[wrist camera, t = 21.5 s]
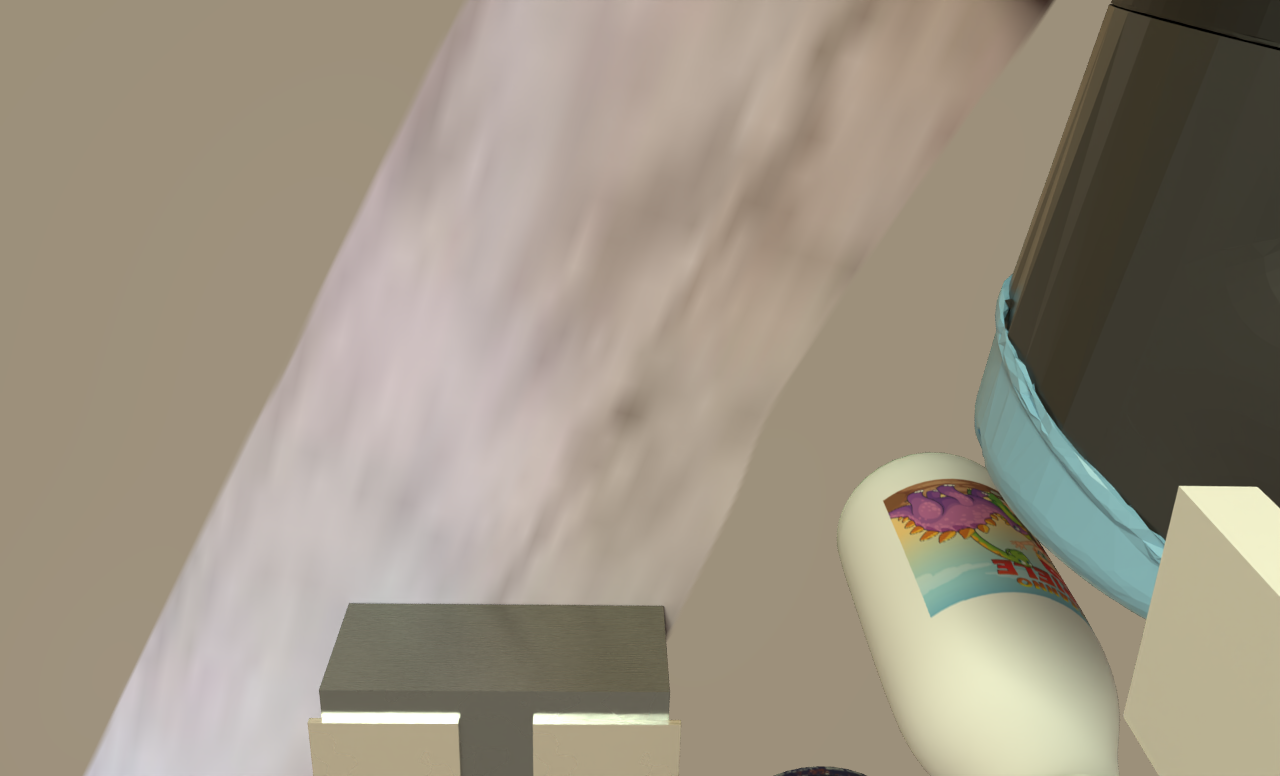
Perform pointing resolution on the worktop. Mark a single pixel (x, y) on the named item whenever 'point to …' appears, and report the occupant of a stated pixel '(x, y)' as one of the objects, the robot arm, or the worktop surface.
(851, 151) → the worktop surface
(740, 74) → the worktop surface
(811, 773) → the storage jar
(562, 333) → the worktop surface
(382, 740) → the drawer cabinet
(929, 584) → the milk bottle
